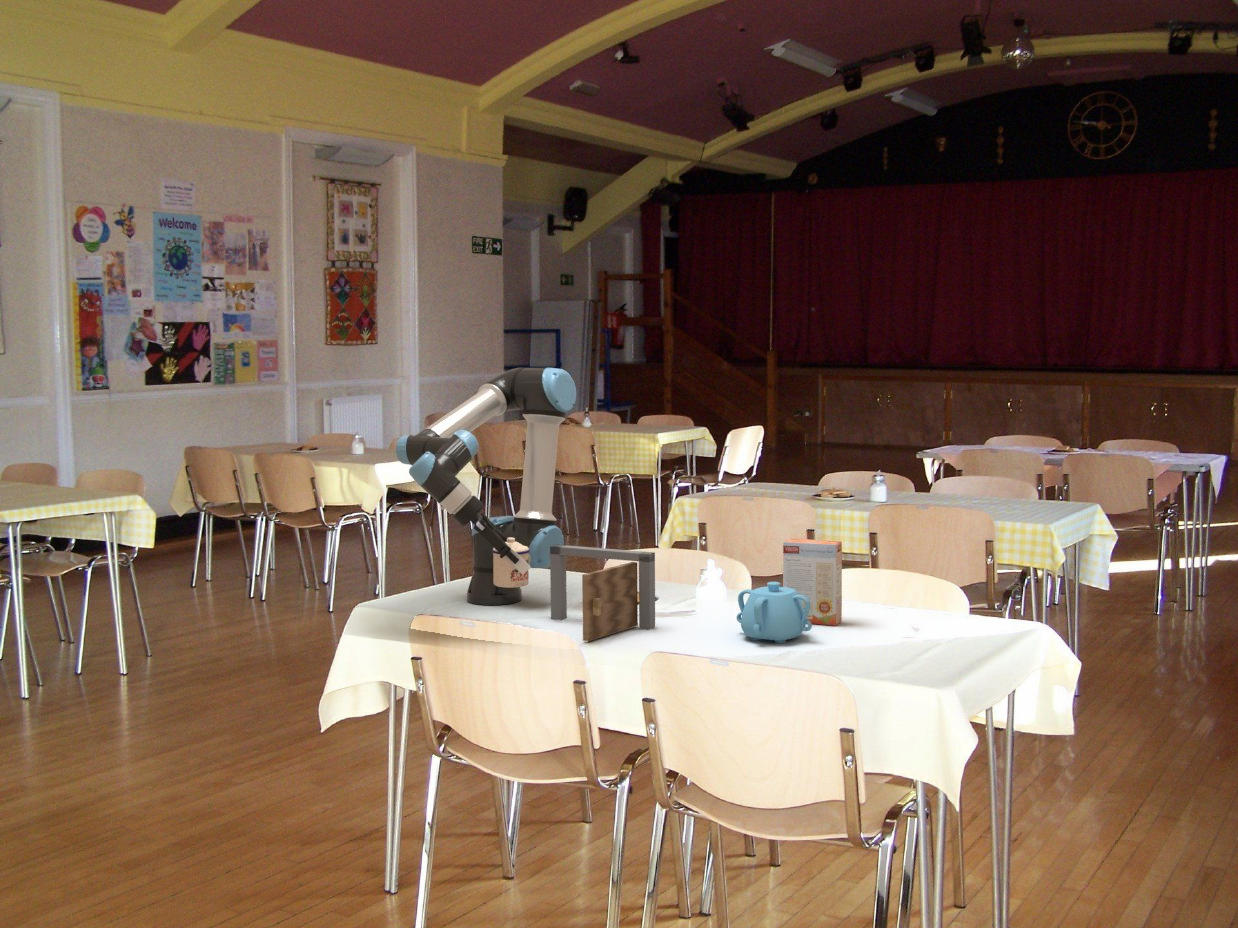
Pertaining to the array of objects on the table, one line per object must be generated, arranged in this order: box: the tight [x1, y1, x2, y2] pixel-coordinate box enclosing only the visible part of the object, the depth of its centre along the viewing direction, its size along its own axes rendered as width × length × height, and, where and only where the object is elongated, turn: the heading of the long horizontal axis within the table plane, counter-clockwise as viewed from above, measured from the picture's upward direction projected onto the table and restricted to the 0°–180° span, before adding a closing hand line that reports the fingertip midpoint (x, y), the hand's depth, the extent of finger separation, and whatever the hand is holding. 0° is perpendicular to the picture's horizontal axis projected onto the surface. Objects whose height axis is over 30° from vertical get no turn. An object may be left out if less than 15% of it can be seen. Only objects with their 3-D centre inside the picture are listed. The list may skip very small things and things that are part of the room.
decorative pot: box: [736, 581, 813, 644], centre depth 309 cm, size 16×16×14 cm
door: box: [581, 561, 639, 642], centre depth 312 cm, size 20×3×16 cm, turn 143°
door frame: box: [549, 544, 656, 631], centre depth 325 cm, size 3×28×19 cm, turn 63°
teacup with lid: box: [492, 537, 530, 588], centre depth 317 cm, size 12×9×12 cm
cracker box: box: [782, 538, 843, 627], centre depth 325 cm, size 14×6×21 cm, turn 65°
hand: (526, 567), depth 317 cm, fingers closed on teacup with lid, 11 cm apart
